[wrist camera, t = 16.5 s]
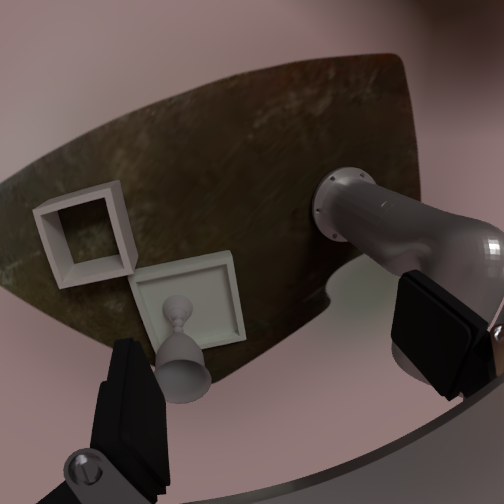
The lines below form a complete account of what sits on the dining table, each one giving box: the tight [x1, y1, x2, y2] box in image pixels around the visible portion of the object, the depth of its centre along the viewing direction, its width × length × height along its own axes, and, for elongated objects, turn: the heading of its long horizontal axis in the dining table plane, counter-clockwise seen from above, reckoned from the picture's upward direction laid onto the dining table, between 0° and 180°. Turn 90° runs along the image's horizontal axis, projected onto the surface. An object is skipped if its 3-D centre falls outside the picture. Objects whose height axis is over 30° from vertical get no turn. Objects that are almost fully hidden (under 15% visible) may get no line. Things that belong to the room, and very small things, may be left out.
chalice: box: [154, 295, 211, 404], centre depth 40 cm, size 7×7×18 cm
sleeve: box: [33, 180, 138, 289], centre depth 39 cm, size 12×12×6 cm
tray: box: [128, 250, 246, 354], centre depth 49 cm, size 16×16×2 cm
